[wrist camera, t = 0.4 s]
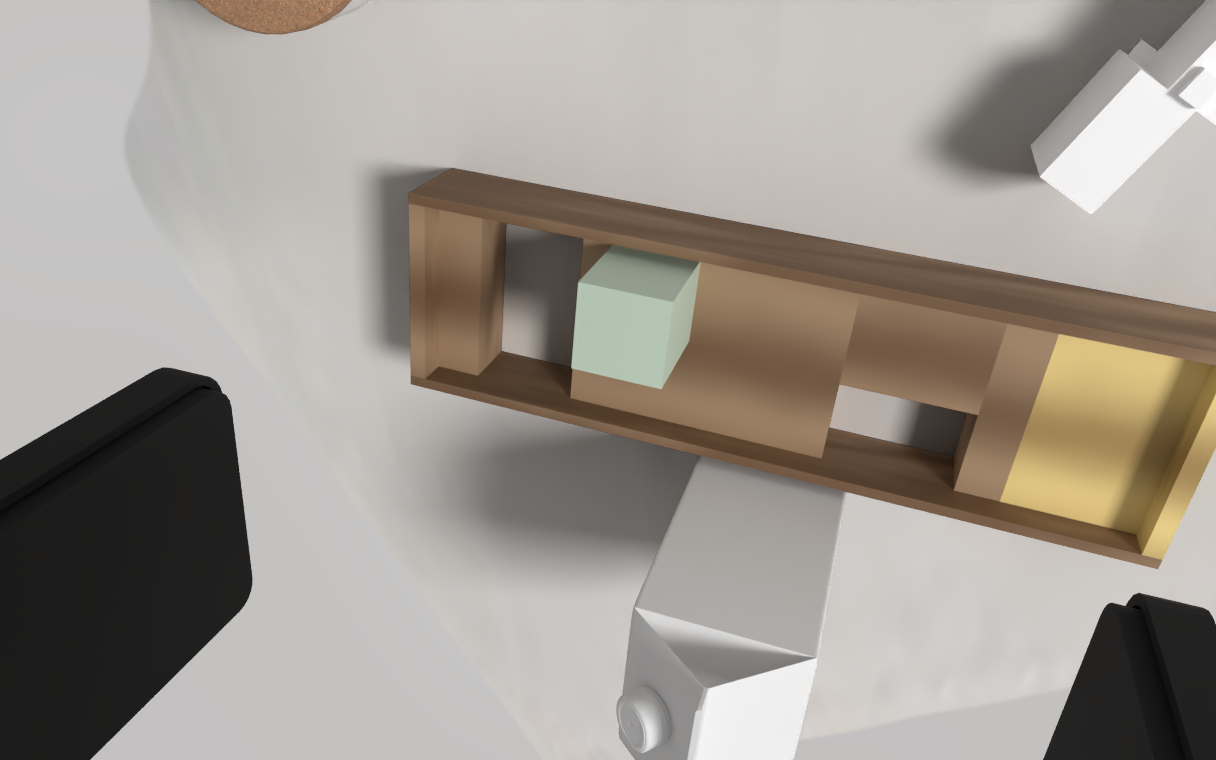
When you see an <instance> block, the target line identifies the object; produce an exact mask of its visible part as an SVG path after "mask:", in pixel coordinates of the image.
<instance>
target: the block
mask: <svg viewBox="0 0 1216 760" xmlns="http://www.w3.org/2000/svg"><path fill="white" fill-rule="evenodd" d="M700 264H701V262H698V261H693V260H688V259H683V258H678V257H673V256H668V255H663V254H658V253H653V252H648V251H643V250H638V249H633V248H628V247H623V246H618V245H612V246H611V248H610V249H609V250H608V251H607V252H606V253H605V254H604V255H603V256H602V257H601V258H600V259H599V260H598V261H597V262H596V264H595V265H594V266H593V267H592V268H591V269H590V270H589V271H588V272H587V273H586V274H585V275H584V276H583V277H582V278H581V280H580V281H579V282H578V291H577V303H576V315H575V328H574V340H573V353H572V365H571V368H572V369H576V370H581V371H585V372H589V373H593V374H598V375H602V376H606V377H611V378H615V379H619V380H623V381H628V382H632V383H636V384H640V385H645V386H649V387H653V388H658V389H662V387H663V386H664V384H665V382H666V381H667V379H668V377H669V375H670V374H671V372H672V370H673V368H674V367H675V365H676V363H677V361H678V360H679V358H680V356H681V354H682V353H683V351H684V349H685V347H686V346H687V344H688V342H689V339H690V332H691V325H692V319H693V312H694V305H695V298H696V291H697V284H698V278H699V271H700Z"/></svg>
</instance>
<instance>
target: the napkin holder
mask: <svg viewBox="0 0 1216 760" xmlns="http://www.w3.org/2000/svg"><path fill="white" fill-rule="evenodd" d="M1195 111H1197V112H1199V113H1200V114H1201V115H1203V116H1204V117H1205V118H1207V119H1208V120H1209V121H1211V122H1212V123H1213V124H1215V125H1216V0H1205V1H1204V3H1203V4H1202V5H1201V6H1200V7H1199V8H1198V9H1197V10H1196V11H1195V12H1194V13H1193V14H1192V15H1191V16H1190V17H1189V18H1188V20H1187V21H1186V22H1185V23H1184V24H1183V25H1182V26H1181V27H1180V28H1179V29H1178V30H1177V31H1176V32H1175V33H1174V34H1173V35H1172V36H1171V38H1170V39H1169V40H1168V41H1167V42H1166V43H1165V44H1164V45H1163V46H1162V47H1161V48H1160V49H1159V50H1158V51H1157V50H1155V49H1154V48H1153V47H1151V46H1150V45H1149V44H1147V43H1146V42H1145V41H1143V40H1142V39H1141V40H1140V41H1139V42H1138V43H1137V45H1136V46H1135V47H1134V48H1133V49H1132V50H1131V51H1130V52H1129V53H1128V54H1126V53H1125V52H1124V51H1122V50H1121V49H1120V48H1119V49H1118V51H1117V52H1116V53H1115V54H1114V55H1113V56H1112V57H1111V58H1110V59H1109V60H1108V61H1107V63H1106V64H1105V65H1104V66H1103V67H1102V68H1101V69H1100V70H1099V71H1098V72H1097V73H1096V75H1095V76H1094V77H1093V78H1092V79H1091V80H1090V81H1089V82H1088V83H1087V84H1086V85H1085V87H1084V88H1083V89H1082V90H1081V91H1080V92H1079V93H1078V94H1077V95H1076V96H1075V97H1074V99H1073V100H1072V101H1071V102H1070V103H1069V104H1068V105H1067V106H1066V107H1065V108H1064V109H1063V111H1062V112H1061V113H1060V114H1059V115H1058V116H1057V117H1056V118H1055V119H1054V120H1053V121H1052V123H1051V124H1050V125H1049V126H1048V127H1047V128H1046V129H1045V130H1044V131H1043V132H1042V133H1041V135H1040V136H1039V137H1038V138H1037V139H1036V140H1035V141H1034V142H1033V143H1032V144H1031V145H1030V146H1031V149H1032V153H1033V156H1034V159H1035V163H1036V166H1037V169H1038V173H1039V176H1040V177H1041V178H1042V179H1043V180H1045V181H1046V182H1048V183H1049V184H1050V185H1052V186H1053V187H1054V188H1056V189H1057V190H1058V191H1060V192H1061V193H1062V194H1064V195H1065V196H1066V197H1068V198H1069V199H1071V200H1072V201H1073V202H1075V203H1076V204H1077V205H1079V206H1080V207H1081V208H1083V209H1084V210H1085V211H1087V212H1088V213H1089V214H1091V215H1092V214H1093V213H1094V212H1095V211H1096V210H1097V209H1098V208H1099V207H1100V206H1101V205H1102V204H1103V203H1104V202H1105V201H1106V200H1107V199H1108V198H1109V197H1110V196H1111V195H1112V194H1113V193H1114V192H1115V191H1116V190H1117V189H1118V188H1119V187H1120V186H1121V185H1122V184H1123V183H1124V182H1125V181H1126V180H1127V179H1128V178H1129V177H1130V176H1131V175H1132V174H1133V173H1134V172H1135V171H1136V170H1137V169H1138V168H1139V167H1140V166H1141V165H1142V164H1143V163H1144V162H1145V161H1146V160H1147V159H1148V158H1149V157H1150V156H1151V155H1152V154H1153V153H1154V152H1155V151H1156V150H1157V149H1158V148H1159V147H1160V146H1161V145H1162V144H1163V143H1164V142H1165V141H1166V140H1167V139H1168V138H1169V137H1170V136H1171V135H1172V134H1173V133H1174V132H1175V131H1176V130H1177V129H1178V128H1179V127H1180V126H1181V125H1182V124H1183V123H1184V122H1185V121H1186V120H1187V119H1188V118H1189V117H1190V116H1191V115H1192V114H1193V113H1194V112H1195Z"/></svg>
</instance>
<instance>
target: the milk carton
mask: <svg viewBox="0 0 1216 760" xmlns="http://www.w3.org/2000/svg"><path fill="white" fill-rule="evenodd" d="M846 493H847V492H845V491H841V490H837V489H832V488H828V487H824V486H820V485H816V484H812V483H808V482H804V481H800V480H796V479H792V478H788V477H784V476H780V475H776V474H772V473H768V472H764V471H760V470H756V469H752V468H748V467H744V466H740V465H736V464H732V463H727V462H723V461H719V460H715V459H711V458H707V457H703V456H699V459H698V461H697V463H696V465H695V468H694V470H693V472H692V475H691V477H690V479H689V481H688V484H687V486H686V488H685V490H684V493H683V495H682V497H681V500H680V502H679V504H678V506H677V509H676V511H675V513H674V515H673V518H672V520H671V522H670V524H669V527H668V529H667V531H666V534H665V536H664V538H663V540H662V543H661V545H660V547H659V549H658V552H657V554H656V556H655V559H654V561H653V563H652V565H651V568H650V570H649V572H648V574H647V577H646V579H645V581H644V584H643V586H642V588H641V590H640V593H639V595H638V597H637V600H636V602H635V605H634V608H633V613H632V619H631V627H630V635H629V643H628V652H627V661H626V669H625V678H624V686H623V695H622V696H621V697H620V698H619V699H618V702H617V719H618V723H619V737H620V739H621V741H622V742H623V744H624V745H625V747H626V748H627V749H628V751H629V752H630V753H631V755H632V756H633V757H634V759H635V760H793V759H794V755H795V751H796V747H797V743H798V739H799V735H800V731H801V727H802V723H803V719H804V715H805V711H806V707H807V703H808V699H809V695H810V691H811V687H812V683H813V679H814V675H815V671H816V666H817V661H818V656H819V650H820V644H821V638H822V632H823V626H824V621H825V615H826V609H827V603H828V597H829V592H830V586H831V580H832V574H833V568H834V563H835V557H836V551H837V545H838V539H839V534H840V528H841V522H842V516H843V510H844V505H845V499H846Z"/></svg>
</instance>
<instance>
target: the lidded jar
mask: <svg viewBox="0 0 1216 760" xmlns="http://www.w3.org/2000/svg"><path fill="white" fill-rule="evenodd" d="M195 1H196V2H198V3H199V4H200V5H202V6H203V7H204V8H205V9H207V10H208V11H209V12H210V13H212V14H213V15H215V16H217V17H219V18H220V19H222V20H224V21H225V22H227V23H229V24H231V25H234V26H237V27H239V28H242V29H244V30H247V31H252V32H257V33H262V34H287V33H292V32H297V31H302V30H307V29H310V28H312V27H314V26H317V25H319V24H322V23H324V22H327V21H330V20H334V19H337V18H339V17H341V16H344V15H346V14H349V13H351V12H353V11H355V10H357V9H359V8H361V7H362V6H364V5H365V4H367V3H368V2H370V1H371V0H195Z"/></svg>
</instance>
